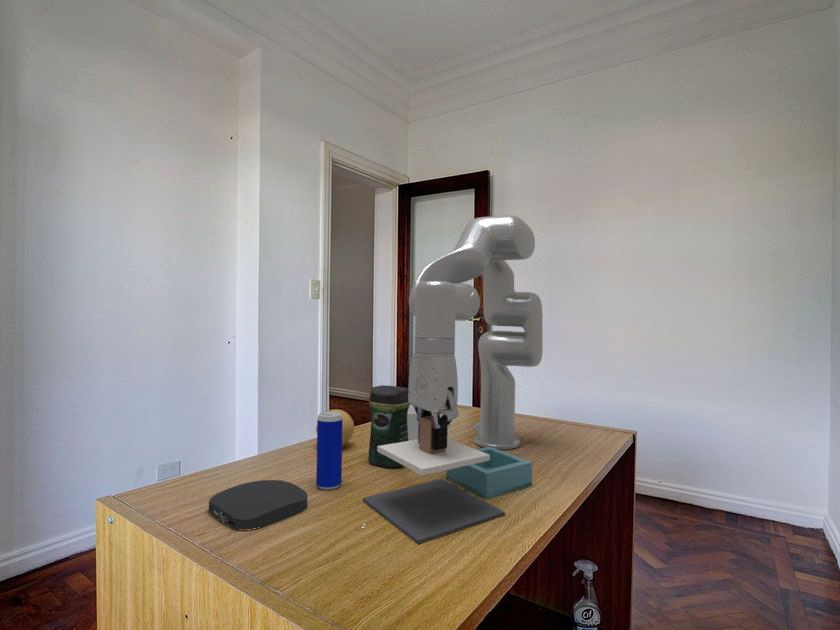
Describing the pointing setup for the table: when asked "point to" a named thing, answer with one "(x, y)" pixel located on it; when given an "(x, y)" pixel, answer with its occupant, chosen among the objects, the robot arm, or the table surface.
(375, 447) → the coffee jar
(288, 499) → the media streaming box
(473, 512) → the mat
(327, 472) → the beverage can
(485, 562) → the table surface
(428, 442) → the lid
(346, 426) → the stress ball
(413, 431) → the mug
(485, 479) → the square tray
